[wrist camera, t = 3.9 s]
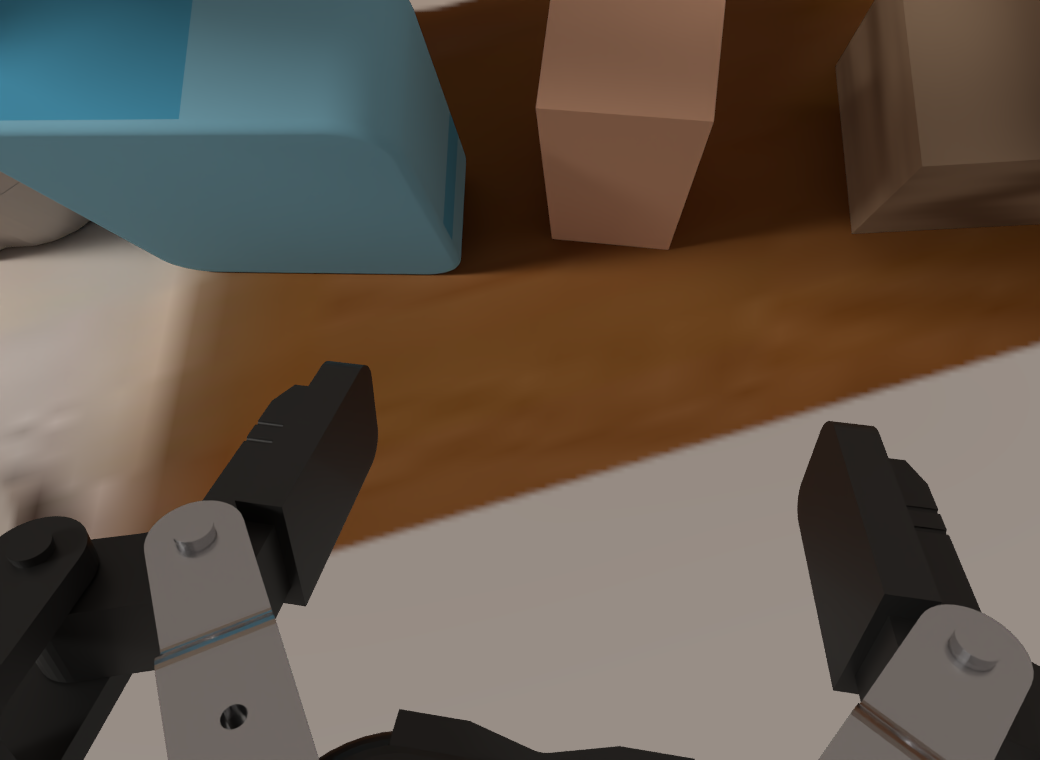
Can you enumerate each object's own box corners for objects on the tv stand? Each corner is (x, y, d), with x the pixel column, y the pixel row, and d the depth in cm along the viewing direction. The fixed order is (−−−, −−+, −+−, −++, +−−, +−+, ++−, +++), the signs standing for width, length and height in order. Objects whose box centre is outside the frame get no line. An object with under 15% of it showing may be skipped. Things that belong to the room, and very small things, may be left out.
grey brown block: (850, 234, 28) (922, 166, 22) (834, 68, 29) (898, -40, 23) (1097, 222, 27) (1240, 148, 21) (1071, 51, 28) (1200, -65, 22)
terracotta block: (668, 249, 28) (713, 121, 18) (551, 238, 29) (536, 108, 19) (679, 140, 29) (729, -41, 19) (565, 131, 29) (556, -50, 20)
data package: (472, 169, 30) (398, -44, 18) (467, 276, 29) (386, 129, 17) (192, 170, 31) (-53, -31, 19) (181, 272, 30) (-81, 132, 18)
